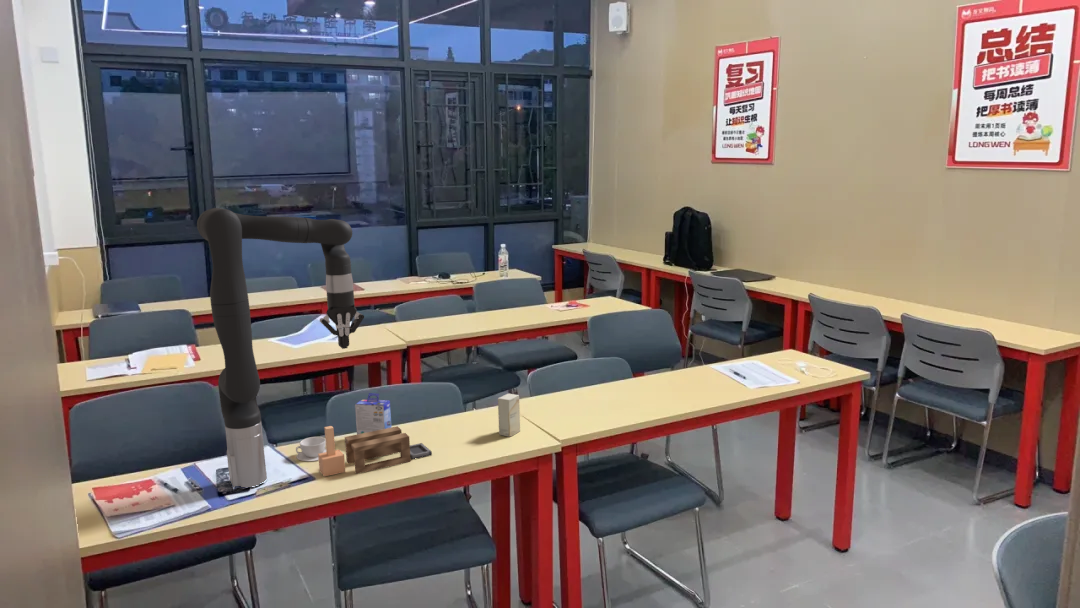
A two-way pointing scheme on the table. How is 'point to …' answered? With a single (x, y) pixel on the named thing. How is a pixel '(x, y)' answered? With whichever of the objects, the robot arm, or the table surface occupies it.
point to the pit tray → (419, 451)
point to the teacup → (311, 448)
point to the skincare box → (509, 414)
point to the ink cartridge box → (372, 414)
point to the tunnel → (377, 448)
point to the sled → (331, 456)
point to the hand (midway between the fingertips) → (344, 347)
